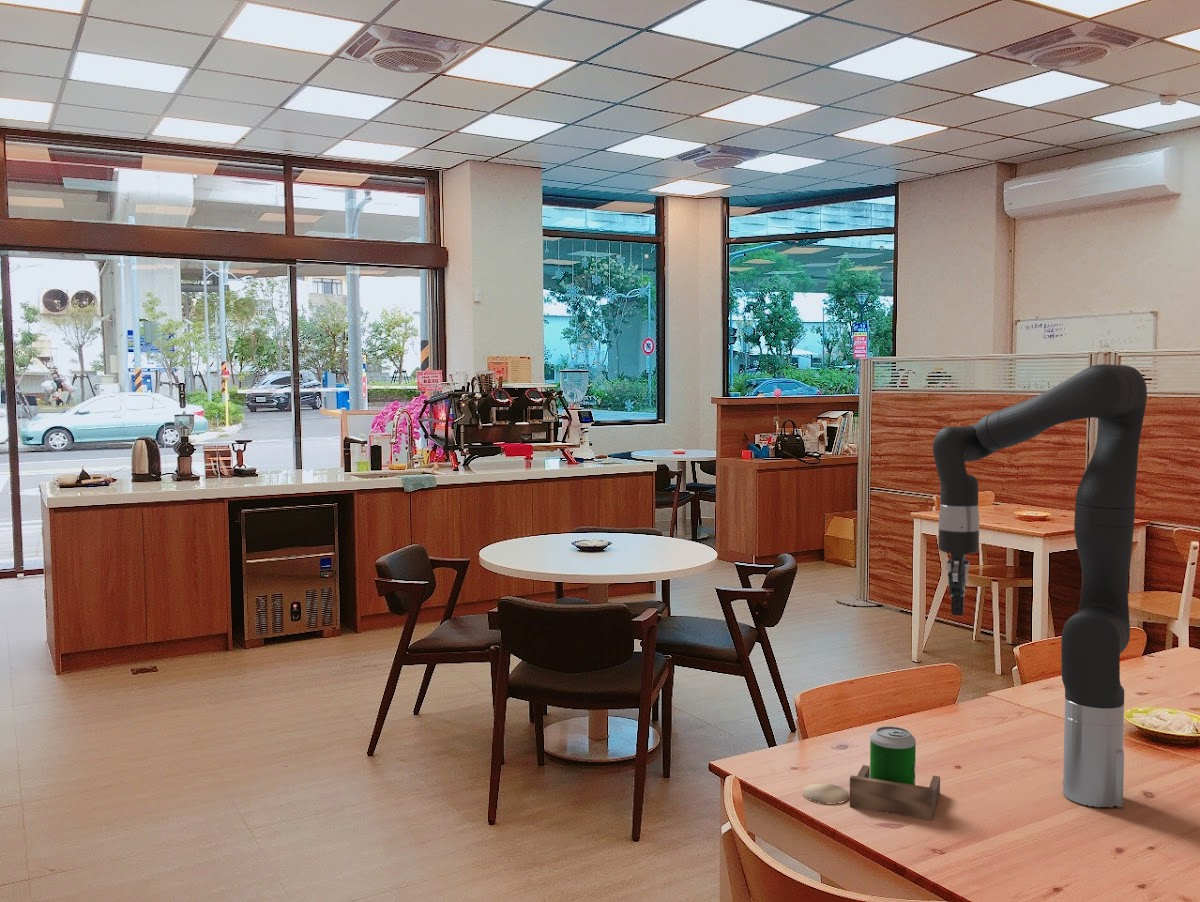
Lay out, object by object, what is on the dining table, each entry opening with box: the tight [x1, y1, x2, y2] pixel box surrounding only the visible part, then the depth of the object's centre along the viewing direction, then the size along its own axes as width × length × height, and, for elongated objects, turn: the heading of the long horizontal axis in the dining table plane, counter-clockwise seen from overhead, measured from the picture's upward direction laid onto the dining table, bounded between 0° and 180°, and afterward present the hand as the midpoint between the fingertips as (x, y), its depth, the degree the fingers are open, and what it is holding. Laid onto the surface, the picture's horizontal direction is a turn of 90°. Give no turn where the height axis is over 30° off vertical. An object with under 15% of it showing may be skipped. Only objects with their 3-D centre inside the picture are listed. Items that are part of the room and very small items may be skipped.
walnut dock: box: [849, 764, 941, 821], centre depth 172 cm, size 13×12×5 cm
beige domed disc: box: [801, 783, 850, 804], centre depth 174 cm, size 8×8×1 cm
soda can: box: [869, 725, 917, 785], centre depth 172 cm, size 8×8×12 cm
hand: (957, 614), depth 196 cm, fingers closed
